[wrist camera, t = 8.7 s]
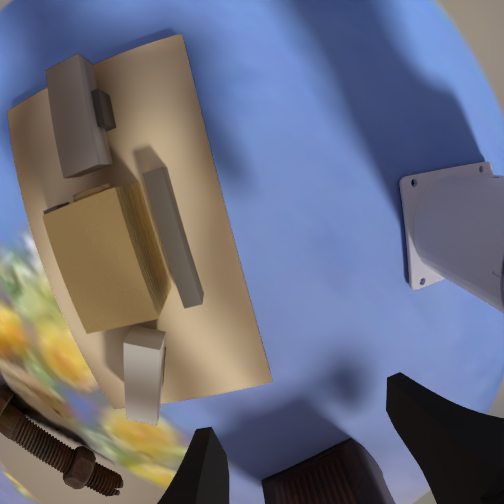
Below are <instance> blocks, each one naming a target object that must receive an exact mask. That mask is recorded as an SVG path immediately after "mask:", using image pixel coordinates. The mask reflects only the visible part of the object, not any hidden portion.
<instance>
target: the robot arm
mask: <svg viewBox="0 0 504 504" xmlns="http://www.w3.org/2000/svg"><path fill="white" fill-rule="evenodd" d="M479 168H480V171H479ZM412 180H414V185H413V186H412V185H411V181H412ZM399 185H400V192H401V199H402V207H403V215H404V223H405V233H406V243H407V256H408V271H409V286H410V287H411V288H412V289H413V290H418V289H420V288H423V287H426V286H428V285H431V284H433V283H436V282H438V281H441V280H443V279H447V280H449V281H451V282H453V283H454V284H456V285H458V286H459V287H461V288H463V289H465V290H466V291H468V292H470V293H471V294H473V295H475V296H476V297H478V298H480V299H481V300H483V301H484V302H486V303H488V304H489V305H491V306H493V307H494V308H496V309H497V310H499V311H501V312H502V313H504V176H500V175H493V173H492V166H491V164H490V162H479V163H473V164H468V165H462V166H456V167H451V168H445V169H440V170H435V171H429V172H424V173H419V174H414V175H409V176H404V177H402V178H401V179H400V182H399ZM422 278H423V279H422ZM421 279H422V282H421V283H420V280H421ZM386 411H387V413H388V415H389V417H390V420H391V422H392V424H393V426H394V428H395V430H396V431H397V433H398V434H399V436H400V437H401V439H402V440H403V442H404V443H405V445H406V446H407V448H408V449H409V451H410V452H411V454H412V455H413V457H414V458H415V460H416V461H417V463H418V464H419V466H420V468H421V470H422V471H423V474H424V476H425V478H426V480H427V482H428V484H429V486H430V488H431V491H432V493H433V495H434V498H435V500H436V503H437V504H504V418H499V417H495V416H490V415H486V414H483V413H479V412H476V411H473V410H470V409H468V408H465V407H462V406H460V405H458V404H456V403H453V402H451V401H449V400H447V399H445V398H443V397H441V396H440V395H438V394H436V393H434V392H432V391H430V390H429V389H427V388H425V387H424V386H422V385H420V384H419V383H417V382H415V381H414V380H412V379H410V378H409V377H407V376H406V375H404V374H402V373H401V372H399V373H397V374H395V375H392V376H390V377H387V399H386ZM157 504H229V470H228V462H227V455H226V453H225V451H224V450H223V448H222V446H221V444H220V442H219V440H218V439H217V437H216V435H215V433H214V431H213V429H212V427H207V428H201V429H196V431H195V433H194V435H193V438H192V440H191V443H190V445H189V448H188V450H187V452H186V454H185V457H184V459H183V461H182V463H181V465H180V467H179V469H178V471H177V473H176V475H175V476H174V478H173V480H172V482H171V483H170V485H169V487H168V488H167V490H166V492H165V493H164V495H163V496H162V498H161V499H160V500H159V502H158V503H157Z"/></svg>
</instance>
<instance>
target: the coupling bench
mask: <svg viewBox="0 0 504 504" xmlns="http://www.w3.org/2000/svg"><path fill="white" fill-rule="evenodd" d="M46 78H47V88H45V89H43V90H41V91H40V92H38V93H36V94H34V95H33V96H31V97H29V98H28V99H26V100H24V101H23V102H21V103H20V104H18V105H16V106H15V107H13V108H12V109H10V110H9V111H7V112H8V122H9V130H10V137H11V144H12V150H13V156H14V162H15V167H16V172H17V177H18V182H19V186H20V190H21V195H22V199H23V203H24V207H25V210H26V214H27V218H28V221H29V225H30V228H31V231H32V235H33V238H34V241H35V244H36V247H37V250H38V253H39V256H40V259H41V262H42V265H43V268H44V270H45V273H46V276H47V278H48V281H49V283H50V286H51V288H52V291H53V293H54V296H55V298H56V301H57V303H58V305H59V308H60V310H61V312H62V314H63V317H64V319H65V321H66V323H67V325H68V327H69V329H70V332H71V334H72V336H73V338H74V340H75V342H76V344H77V346H78V348H79V350H80V351H81V353H82V355H83V357H84V359H85V361H86V363H87V365H88V366H89V368H90V370H91V372H92V374H93V375H94V377H95V379H96V381H97V382H98V384H99V386H100V387H101V389H102V391H103V392H104V394H105V396H106V397H107V399H108V400H109V402H110V404H111V405H112V407H113V408H114V409H119V408H126V419H129V420H133V421H138V422H142V423H147V424H152V425H157V423H158V418H159V414H160V409H161V404H163V403H170V402H177V401H183V400H189V399H195V398H201V397H206V396H211V395H217V394H222V393H227V392H231V391H236V390H241V389H245V388H249V387H254V386H258V385H262V384H266V383H270V382H273V381H272V377H271V372H270V368H269V365H268V361H267V358H266V354H265V350H264V347H263V343H262V340H261V336H260V332H259V329H258V325H257V321H256V318H255V314H254V311H253V307H252V303H251V300H250V296H249V292H248V289H247V285H246V281H245V277H244V274H243V270H242V266H241V263H240V259H239V255H238V251H237V248H236V244H235V240H234V236H233V233H232V229H231V225H230V221H229V217H228V214H227V210H226V206H225V202H224V198H223V194H222V191H221V187H220V183H219V179H218V175H217V171H216V167H215V163H214V160H213V156H212V152H211V148H210V144H209V140H208V136H207V132H206V128H205V124H204V120H203V116H202V112H201V108H200V104H199V100H198V96H197V92H196V88H195V84H194V80H193V76H192V72H191V67H190V63H189V59H188V55H187V51H186V47H185V43H184V40H183V36H182V33H181V34H178V35H174V36H171V37H167V38H164V39H161V40H157V41H154V42H151V43H148V44H145V45H142V46H139V47H136V48H133V49H131V50H128V51H125V52H123V53H120V54H117V55H115V56H112V57H110V58H107V59H105V60H103V61H100V62H98V63H96V64H92V63H91V62H90V61H88V60H87V59H86V58H84V57H83V56H81V55H80V54H79V53H78V54H76V55H74V56H72V57H70V58H68V59H66V60H64V61H62V62H60V63H58V64H57V65H55V66H53V67H51V68H49V69H47V70H46ZM106 183H110V185H111V188H114V187H119V186H124V185H129V184H135V183H140V184H141V188H142V192H143V195H144V199H145V202H146V206H147V209H148V213H149V216H150V220H151V223H152V226H153V230H154V233H155V236H156V239H157V242H158V246H159V249H160V252H161V255H162V258H163V261H164V264H165V267H166V270H167V273H168V276H169V279H170V282H171V285H172V288H171V290H170V292H169V295H168V297H167V300H166V302H165V305H164V307H163V310H162V312H161V315H160V317H159V319H155V320H151V321H146V322H142V323H137V324H132V325H128V326H123V327H118V328H114V329H109V330H104V331H99V332H94V333H89V334H87V333H86V331H85V329H84V327H83V325H82V323H81V321H80V318H79V316H78V314H77V312H76V309H75V307H74V305H73V302H72V300H71V298H70V295H69V293H68V290H67V288H66V285H65V283H64V280H63V278H62V275H61V272H60V270H59V267H58V264H57V261H56V258H55V256H54V253H53V250H52V247H51V244H50V241H49V238H48V234H47V231H46V228H45V225H44V221H43V218H42V216H43V215H45V214H47V213H50V212H52V211H54V210H57V209H59V208H62V207H64V206H67V205H69V204H72V203H74V199H73V195H75V194H77V193H79V192H82V191H84V190H87V189H90V188H93V187H96V186H99V185H102V184H106Z"/></svg>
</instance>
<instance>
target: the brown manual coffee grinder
mask: <svg viewBox="0 0 504 504" xmlns="http://www.w3.org/2000/svg"><path fill="white" fill-rule="evenodd" d="M261 484H262V486H263V493H264V499H265V504H395V502H394V500H393V498H392V496H391V494H390V492H389V490H388V488H387V485H386V483H385V480H384V478H383V474H382V471H381V469H380V468H379V466H378V464H377V463H376V461H375V460H374V459H373V458H372V457H371V455H370V454H369V453H368V452H367V451H366V450H365V448H364V447H363V446H361V445H360V444H358V443H357V442H355V441H354V440H352V439H348V440H346V441H344V442H341V443H339V444H337V445H334V446H333V447H331V448H329V449H327V450H325V451H323V452H321V453H319V454H317V455H315V456H313V457H311V458H309V459H307V460H304V461H302V462H300V463H298V464H296V465H294V466H292V467H290V468H288V469H286V470H284V471H281V472H279V473H277V474H275V475H273V476H270V477H268V478H266V479H264V480H262V483H261Z"/></svg>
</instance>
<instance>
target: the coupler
mask: <svg viewBox="0 0 504 504" xmlns="http://www.w3.org/2000/svg"><path fill="white" fill-rule="evenodd" d="M73 199H74V203H72V204H69V205H67V206H64V207H62V208H59V209H57V210H54V211H52V212H50V213H47V214H45V215H43V216H42V218H43V221H44V225H45V228H46V231H47V234H48V238H49V241H50V244H51V247H52V250H53V253H54V256H55V258H56V261H57V264H58V267H59V270H60V272H61V275H62V278H63V280H64V283H65V285H66V288H67V290H68V293H69V295H70V298H71V300H72V302H73V305H74V307H75V309H76V312H77V314H78V316H79V318H80V321H81V323H82V325H83V327H84V329H85V331H86V333H87V334H89V333H94V332H99V331H104V330H109V329H114V328H118V327H123V326H128V325H132V324H137V323H142V322H146V321H151V320H155V319H159V317H160V315H161V312H162V310H163V307H164V305H165V302H166V300H167V297H168V295H169V292H170V290H171V288H172V285H171V282H170V279H169V276H168V273H167V270H166V267H165V264H164V261H163V258H162V255H161V252H160V249H159V246H158V242H157V239H156V236H155V233H154V230H153V226H152V223H151V220H150V216H149V213H148V209H147V206H146V202H145V199H144V195H143V192H142V188H141V184H140V183H135V184H129V185H124V186H119V187H114V188H111V185H110V183H106V184H102V185H99V186H96V187H93V188H90V189H87V190H84V191H82V192H79V193H77V194H75V195H73Z"/></svg>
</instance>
